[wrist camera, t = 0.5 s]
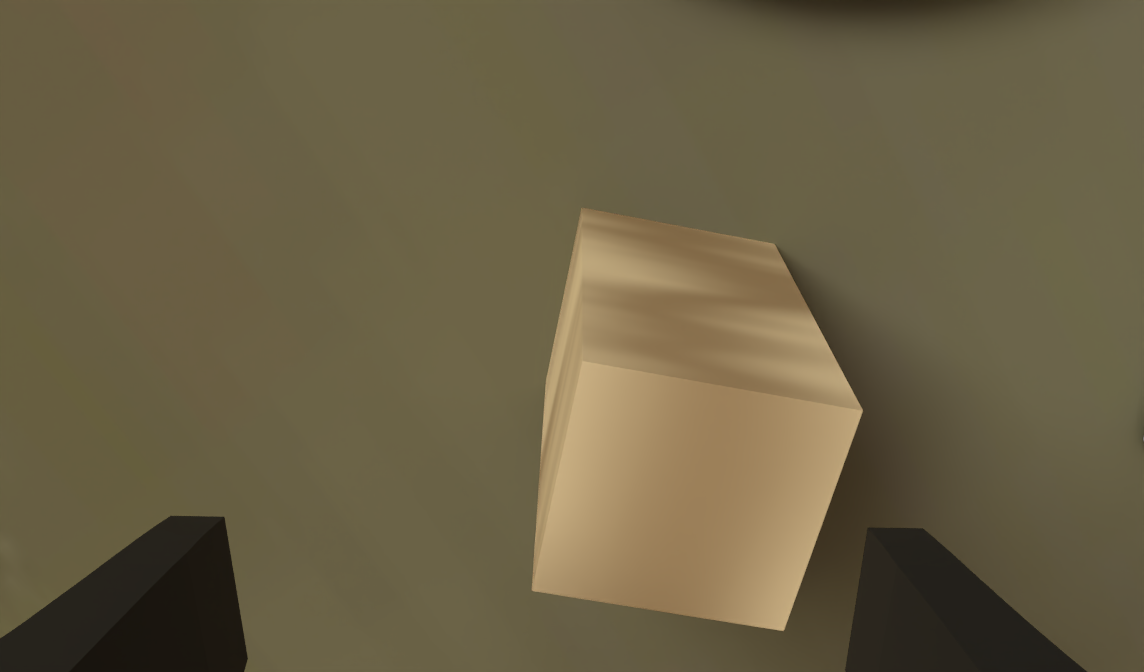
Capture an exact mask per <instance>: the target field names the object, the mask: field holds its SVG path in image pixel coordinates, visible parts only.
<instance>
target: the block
mask: <svg viewBox="0 0 1144 672" xmlns="http://www.w3.org/2000/svg"><path fill="white" fill-rule="evenodd" d="M862 412H863V410H862V408H861V406H860V404H859V402H858V400H857V399H856V397H855V395H854V393H853V391H852V389H851V387H850V385H849V383H848V382H847V380H846V378H845V376H844V374H843V372H842V370H841V368H840V366H839V365H838V363H837V361H836V359H835V357H834V355H833V353H832V351H831V350H830V348H829V346H828V344H827V342H826V340H825V338H824V336H823V334H822V333H821V331H820V329H819V327H818V325H817V323H816V321H815V319H814V317H813V316H812V314H811V312H810V310H809V308H808V306H807V304H806V302H805V300H804V299H803V297H802V295H801V293H800V291H799V289H798V287H797V285H796V284H795V282H794V280H793V278H792V276H791V274H790V272H789V270H788V268H787V267H786V265H785V263H784V261H783V259H782V257H781V255H780V253H779V251H778V250H777V248H776V246H775V244H772V243H767V242H761V241H756V240H751V239H745V238H740V237H735V236H730V235H724V234H719V233H714V232H708V231H703V230H698V229H693V228H687V227H682V226H677V225H671V224H666V223H661V222H656V221H650V220H645V219H640V218H634V217H629V216H624V215H618V214H613V213H608V212H603V211H597V210H592V209H587V208H582V209H581V214H580V219H579V224H578V228H577V233H576V238H575V243H574V248H573V253H572V258H571V262H570V267H569V272H568V277H567V282H566V287H565V292H564V297H563V301H562V306H561V311H560V316H559V321H558V326H557V331H556V335H555V340H554V345H553V350H552V355H551V360H550V365H549V369H548V374H547V379H546V389H545V404H544V418H543V433H542V448H541V463H540V477H539V492H538V507H537V522H536V536H535V551H534V566H533V580H532V591H537V592H543V593H549V594H555V595H562V596H568V597H574V598H580V599H587V600H593V601H599V602H605V603H612V604H618V605H624V606H630V607H637V608H643V609H649V610H655V611H662V612H668V613H674V614H680V615H687V616H693V617H699V618H705V619H712V620H718V621H724V622H730V623H737V624H743V625H749V626H755V627H762V628H768V629H774V630H780V631H784V629H785V626H786V623H787V620H788V618H789V615H790V612H791V609H792V607H793V604H794V601H795V598H796V595H797V593H798V590H799V587H800V584H801V582H802V579H803V576H804V573H805V570H806V568H807V565H808V562H809V559H810V557H811V554H812V551H813V548H814V545H815V543H816V540H817V537H818V534H819V532H820V529H821V526H822V523H823V520H824V518H825V515H826V512H827V509H828V507H829V504H830V501H831V498H832V496H833V493H834V490H835V487H836V484H837V482H838V479H839V476H840V473H841V471H842V468H843V465H844V462H845V459H846V457H847V454H848V451H849V448H850V446H851V443H852V440H853V437H854V434H855V432H856V429H857V426H858V423H859V421H860V418H861V415H862Z"/></svg>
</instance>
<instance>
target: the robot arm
mask: <svg viewBox="0 0 1144 672" xmlns="http://www.w3.org/2000/svg"><path fill="white" fill-rule="evenodd" d="M1143 440H1144V438H1143ZM247 659H248V658H247V652H246V646H245V639H244V633H243V627H242V621H241V615H240V609H239V603H238V597H237V591H236V585H235V579H234V573H233V567H232V561H231V554H230V548H229V542H228V536H227V530H226V524H225V518H224V517H202V516H170V517H168V518H167V519H165V520H164V521H162V522H161V523H159V524H158V525H156V526H155V527H153V528H152V529H150V530H149V531H148V532H146V533H145V534H143V535H142V536H141V537H139V538H138V539H136V540H135V541H134V542H132V543H131V544H130V545H128V546H127V547H126V548H124V549H123V550H122V551H120V552H119V553H117V554H116V555H115V556H113V557H112V558H111V559H109V560H108V561H107V562H105V563H104V564H103V565H101V566H100V567H99V568H97V569H96V570H95V571H93V572H92V573H91V574H89V575H88V576H87V577H85V578H84V579H83V580H81V581H80V582H78V583H77V584H76V585H74V586H73V587H72V588H70V589H69V590H68V591H66V592H65V593H63V594H62V595H61V596H59V597H58V598H57V599H55V600H54V601H52V602H51V603H50V604H48V605H47V606H46V607H44V608H43V609H41V610H40V611H39V612H37V613H36V614H35V615H33V616H32V617H31V618H29V619H28V620H26V621H25V622H24V623H22V624H21V625H19V626H18V627H17V628H15V629H14V630H12V631H11V632H9V633H8V634H6V635H5V636H3V637H2V638H0V672H244V670H245V666H246V663H247ZM845 671H846V672H1087V671H1085V670H1084V669H1083V668H1082V667H1081V666H1079V665H1078V664H1077V663H1076V662H1074V661H1073V660H1072V659H1071V658H1070V657H1068V656H1067V655H1066V654H1065V653H1064V652H1062V651H1061V650H1060V649H1059V648H1058V647H1057V646H1055V645H1054V644H1053V643H1052V642H1051V641H1049V640H1048V639H1047V638H1046V637H1045V636H1044V635H1042V634H1041V633H1040V632H1039V631H1038V630H1037V629H1036V628H1034V627H1033V626H1032V625H1031V624H1030V623H1029V622H1027V621H1026V620H1025V619H1024V618H1023V617H1022V616H1021V615H1019V614H1018V613H1017V612H1016V611H1015V610H1014V609H1013V608H1012V607H1010V606H1009V605H1008V604H1007V603H1006V602H1005V601H1004V600H1003V599H1001V598H1000V597H999V596H998V595H997V594H996V593H995V592H994V591H993V590H992V589H990V588H989V587H988V586H987V585H986V584H985V583H984V582H983V581H982V580H980V579H979V578H978V577H977V576H976V575H975V574H974V573H973V572H972V571H970V570H969V569H968V568H967V567H966V566H965V565H964V564H963V563H962V562H961V561H959V560H958V559H957V558H956V557H955V556H954V555H953V554H952V553H951V552H949V551H948V550H947V549H946V548H945V547H944V546H943V545H942V544H940V543H939V542H938V541H937V540H936V539H935V538H934V537H932V536H931V535H930V534H929V533H928V532H926V531H925V530H924V529H918V528H868V529H867V536H866V542H865V548H864V555H863V561H862V567H861V574H860V580H859V586H858V593H857V599H856V605H855V612H854V618H853V624H852V631H851V637H850V643H849V650H848V656H847V662H846V669H845Z"/></svg>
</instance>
